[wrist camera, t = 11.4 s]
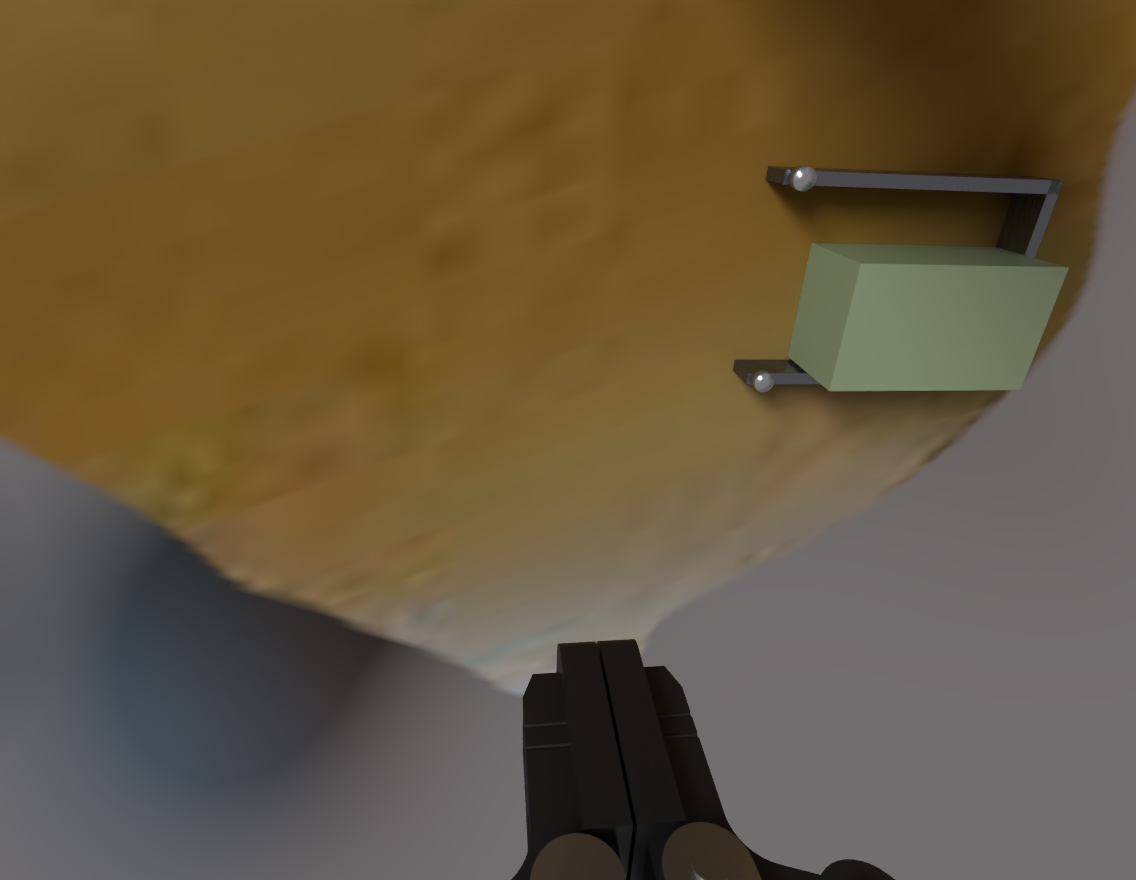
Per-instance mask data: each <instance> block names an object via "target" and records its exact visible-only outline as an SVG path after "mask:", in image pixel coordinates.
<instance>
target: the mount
mask: <svg viewBox="0 0 1136 880" xmlns="http://www.w3.org/2000/svg"><path fill="white" fill-rule="evenodd" d="M766 180H768V181H771V182H775V183H779V184H783V185H790V186H791V188H793V189H795V190H799V191H808V190H809V189H811V188H812V187H813V186H836V187H864V188H892V189H919V190H947V191H975V192H1002V193H1015V194H1014V197H1013V200H1012V203H1011V206H1010V209H1009V211H1008V214H1007V217H1006V220H1005V223H1004V226H1003V229H1002V232H1001V235H1000V238H999V241H998V244H997V248H1001V249H1004V250H1008V251H1012V252H1015V253H1019V254H1023V255H1026V256H1030V257H1033V258H1035V257H1036V254H1037V251H1038V249H1039V246H1040V243H1041V241H1042V238H1043V235H1044V233H1045V230H1046V227H1047V225H1048V222H1049V219H1050V217H1051V214H1052V211H1053V209H1054V206H1055V203H1056V200H1057V198H1058V195H1059V192H1060V190H1061V187H1062V184H1063V182H1064V181H1061V180H1053V179H1046V178H1038V177H1027V176H1001V175H976V174H951V173H925V172H900V171H875V170H849V169H824V168H811V167H807V166H797V167H774V166H768V171H767V177H766ZM733 371H734V372H735V373H736V374H737V375H738V376H739V377H740V378H741V379H742V380H743V381H744V382H745V384H752V385H753V386H754V387H755V388H756V390H757V391H759V392H767V391H769V390H770V389H771V388H772V387H773V385H774V384H820V383H819V382H818V381H816V380H815V379H814V378H813V377H812V376H810V375H809V374H808V373H807V372H806V371H804V370H803V369H802V368H801V367H800V366H799V365H797V364H796V363H795V362H794V361H793V360H735V362H734V368H733Z"/></svg>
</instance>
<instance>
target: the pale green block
mask: <svg viewBox="0 0 1136 880" xmlns="http://www.w3.org/2000/svg"><path fill="white" fill-rule="evenodd" d="M1068 269H1069V267H1066V266H1063V265H1059V264H1055V263H1052V262H1048V261H1044V260H1041V259H1037V258H1033V257H1030V256H1026V255H1023V254H1019V253H1015V252H1012V251H1008V250H1004V249H1001V248H997V247H977V246H931V245H885V244H839V243H812V244H811V249H810V254H809V258H808V263H807V268H806V273H805V277H804V282H803V287H802V292H801V296H800V301H799V306H798V311H797V316H796V320H795V325H794V330H793V335H792V339H791V344H790V349H789V354H788V357H789V358H790V359H791V360H793V361H794V362H795V363H796V364H797V365H799V366H800V367H801V368H802V369H803V370H804V371H806V372H807V373H808V374H809V375H810V376H812V377H813V378H814V379H815V380H816V381H818V382H819V383H820V384H821V385H822V386H824V387H825V388H826V389H827V390H828V391H954V390H1021V388H1022V385H1023V383H1024V380H1025V378H1026V375H1027V373H1028V370H1029V368H1030V365H1031V363H1032V360H1033V358H1034V355H1035V353H1036V350H1037V348H1038V345H1039V343H1040V340H1041V337H1042V335H1043V332H1044V330H1045V327H1046V325H1047V322H1048V320H1049V317H1050V315H1051V312H1052V310H1053V307H1054V305H1055V302H1056V300H1057V297H1058V295H1059V292H1060V289H1061V287H1062V284H1063V282H1064V279H1065V277H1066V274H1067V272H1068Z"/></svg>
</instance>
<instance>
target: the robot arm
mask: <svg viewBox="0 0 1136 880" xmlns="http://www.w3.org/2000/svg"><path fill="white" fill-rule="evenodd" d="M523 764H524V782H525V801H526V822H527V842H528V853H527V856H526V859H525V861H524V863H523V865H522V867H521V868H520V870H519V871H518V873H517V874H516V875H515V876H514V877H513V878H512V880H895V879H893V878H892V877H891V876H890V875H888V874H887V873H885V872H884V871H882V870H881V869H879V868H877V867H875V866H873V865H871V864H869V863H866V862H863V861H858V860H849V859H846V860H840V861H837V862H834V863H832V864H831V865H829V866H828V867H826V869H825V870H824V871H823V872H822V874H821V875H818V874H814V873H810V872H807V871H803V870H799V869H795V868H791V867H787V866H784V865H780V864H777V863H774V862H771V861H769V860H767V859H764V858H762V857H761V856H759V855H758V854H756V853H754V852H753V851H752V850H750V849H749V848H748V847H747V846H745V844H744V843H743V842H742V841H741V840H740V839H739V838H738V837H737V836H736V834H735V833H734V832H733V830H732V829H731V827H730V825H729V823H728V821H727V819H726V817H725V814H724V811H723V808H722V805H721V802H720V799H719V797H718V793H717V790H716V787H715V784H714V781H713V778H712V775H711V773H710V769H709V766H708V763H707V760H706V757H705V754H704V751H703V748H702V746H701V742H700V739H699V738H698V736H697V730H696V727H695V724H694V722H693V718H692V717H691V715H690V710H689V706H688V703H687V700H686V698H685V694H684V692H683V688H682V686H681V685H680V684H679V683H678V682H677V680H676V679H675V678H674V677H673V676H672V675H671V673H670V672H669V671H668V670H667V669H666V667H665V666H655V667H643V663H642V659H641V656H640V652H639V648H638V645H637V642H636V641H635V640H634V639H629V640H612V641H597V644H596V642H580V643H562V644H558V646H557V671H556V673H545V674H533V675H532V677H531V679H530V682H529V684H528V687H527V689H526V691H525V694H524V696H523Z"/></svg>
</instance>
